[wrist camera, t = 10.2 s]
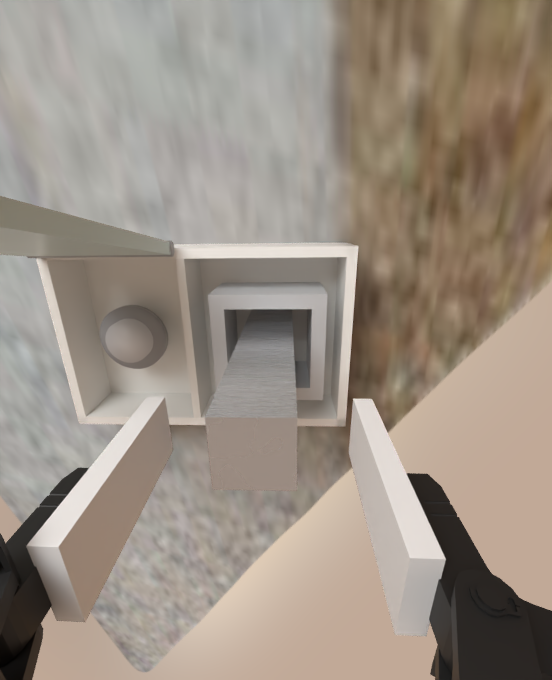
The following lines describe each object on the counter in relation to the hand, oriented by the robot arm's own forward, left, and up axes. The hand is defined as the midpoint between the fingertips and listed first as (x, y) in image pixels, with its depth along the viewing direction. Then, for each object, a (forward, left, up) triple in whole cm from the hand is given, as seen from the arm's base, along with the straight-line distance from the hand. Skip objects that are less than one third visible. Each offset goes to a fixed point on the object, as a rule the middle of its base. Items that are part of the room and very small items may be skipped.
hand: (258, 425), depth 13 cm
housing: (0, -5, -16) cm, 16 cm away
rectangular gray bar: (0, 0, -15) cm, 15 cm away
